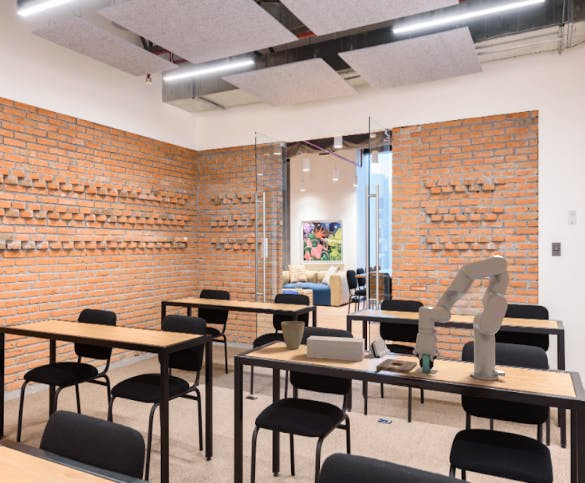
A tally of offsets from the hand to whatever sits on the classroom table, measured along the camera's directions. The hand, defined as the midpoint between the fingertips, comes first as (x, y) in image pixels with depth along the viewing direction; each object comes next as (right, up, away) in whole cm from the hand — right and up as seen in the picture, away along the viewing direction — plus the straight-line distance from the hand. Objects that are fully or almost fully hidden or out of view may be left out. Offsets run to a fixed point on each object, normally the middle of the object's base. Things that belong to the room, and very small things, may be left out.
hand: (426, 367), depth 228 cm
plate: (0, -3, 0) cm, 3 cm away
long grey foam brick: (-42, -4, +35) cm, 55 cm away
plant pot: (-67, -4, +58) cm, 89 cm away
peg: (0, -2, 0) cm, 2 cm away
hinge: (-15, -4, +42) cm, 45 cm away
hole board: (-13, -3, +7) cm, 15 cm away
